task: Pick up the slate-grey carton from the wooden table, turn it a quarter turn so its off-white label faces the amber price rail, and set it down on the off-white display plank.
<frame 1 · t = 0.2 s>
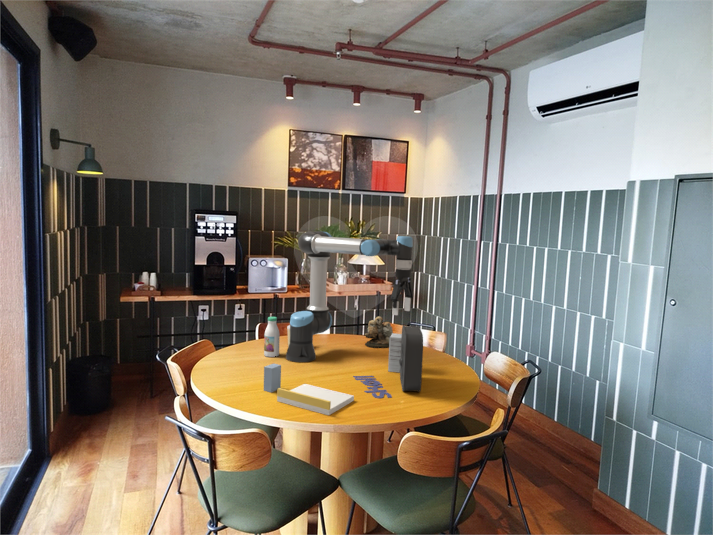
hand: (401, 312, 232), 28 cm above the table, fingers open, 13 cm apart
signage: (371, 387, 209), on the table
display plank: (315, 400, 190), on the table
coffee cup: (295, 347, 268), on the table
speaker: (407, 385, 213), on the table
supplement box: (398, 370, 235), on the table
milk bottle: (271, 355, 251), on the table
owl figurine: (378, 346, 279), on the table
carton: (272, 389, 201), on the table
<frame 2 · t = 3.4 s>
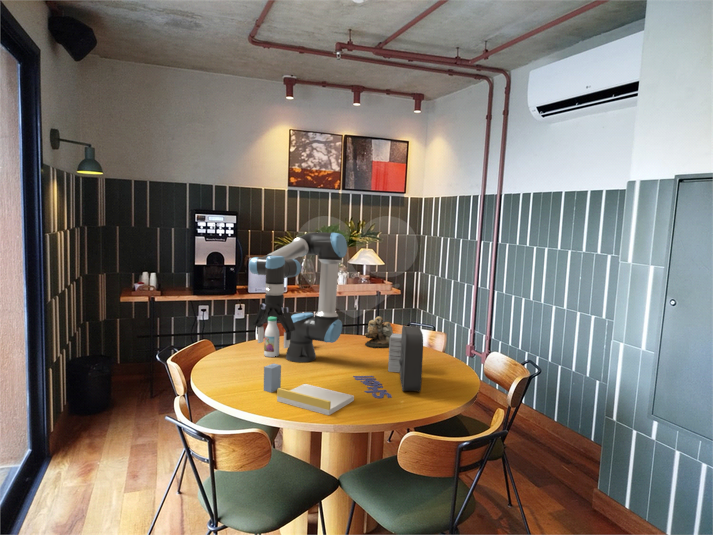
hand: (273, 345, 199), 19 cm above the table, fingers open, 13 cm apart
nothing on the table moved.
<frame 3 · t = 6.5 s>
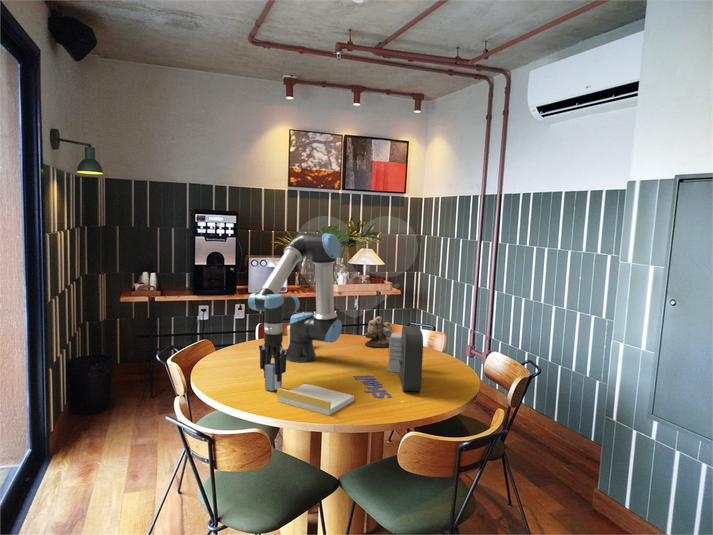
hand: (272, 387, 201), 1 cm above the table, fingers closed on carton, 4 cm apart
carton: (273, 387, 201), on the table, touching gripper
everything else where it was.
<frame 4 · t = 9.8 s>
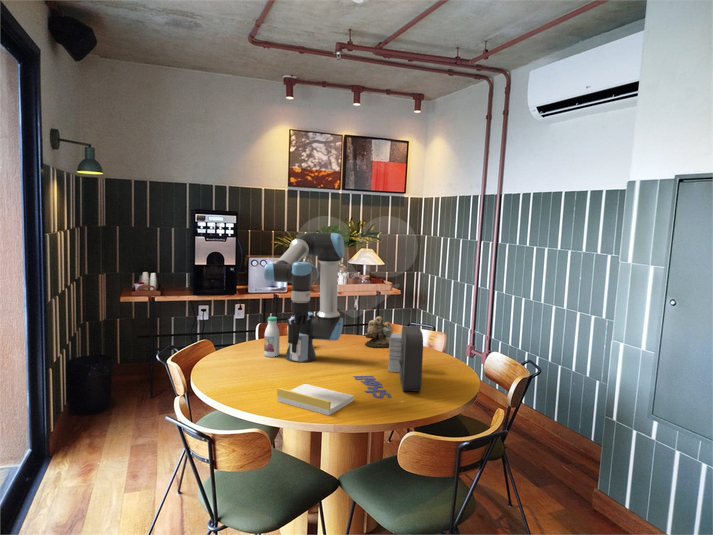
hand: (299, 358, 194), 15 cm above the table, fingers closed on carton, 4 cm apart
carton: (298, 359, 194), point 15 cm above the table, touching gripper
everything else where it was.
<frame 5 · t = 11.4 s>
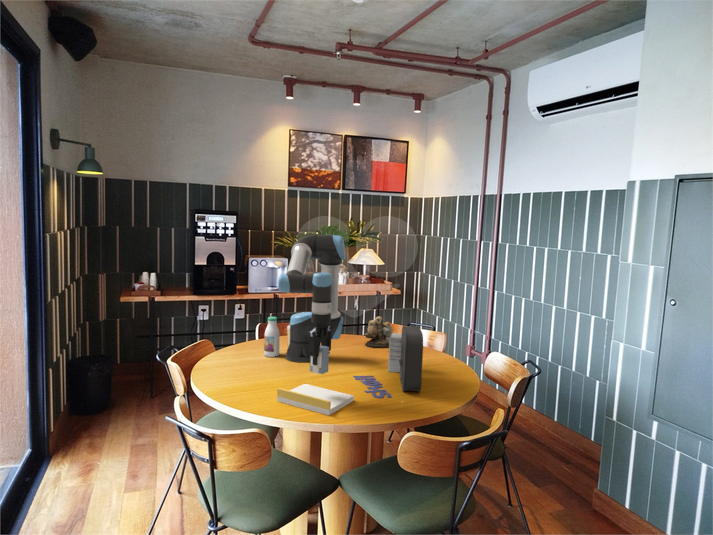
hand: (319, 371, 190), 11 cm above the table, fingers closed on carton, 4 cm apart
carton: (318, 371, 191), point 11 cm above the table, touching gripper
everything else where it was.
when the fingers open (3 cm above the table, at t = 13.0 s): carton stays where it is, resting on display plank.
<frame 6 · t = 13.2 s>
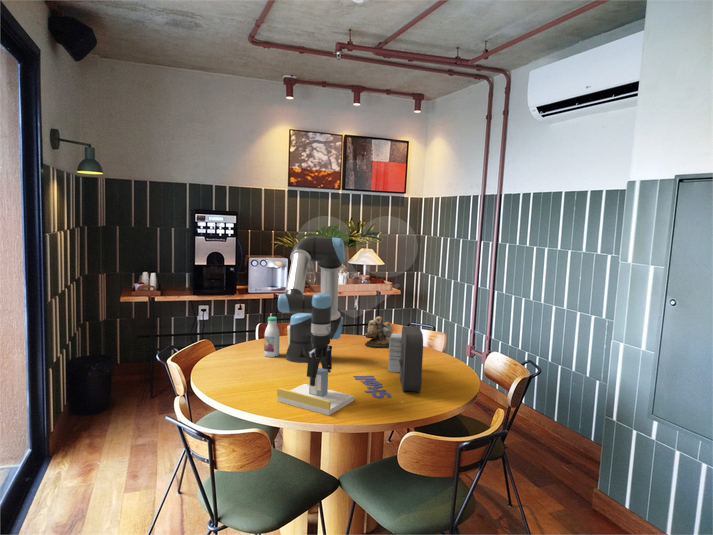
hand: (318, 390, 191), 3 cm above the table, fingers open, 7 cm apart
carton: (318, 394, 192), point 2 cm above the table, touching display plank
everything else where it was.
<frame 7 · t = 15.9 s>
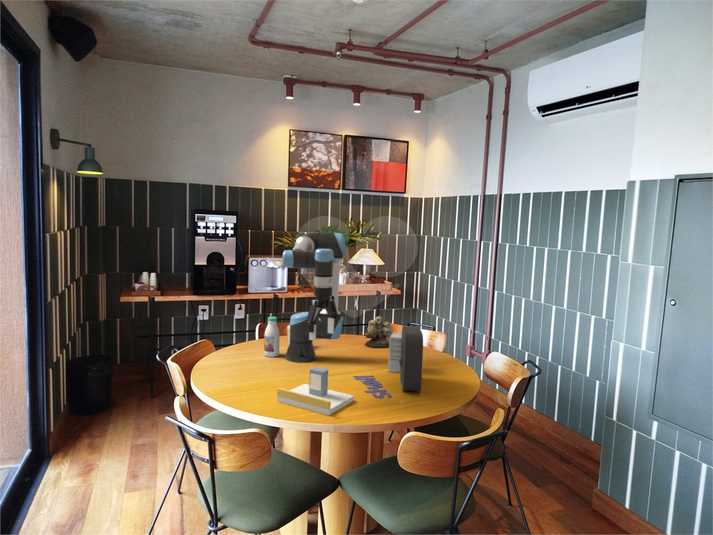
hand: (321, 336, 203), 22 cm above the table, fingers open, 13 cm apart
nothing on the table moved.
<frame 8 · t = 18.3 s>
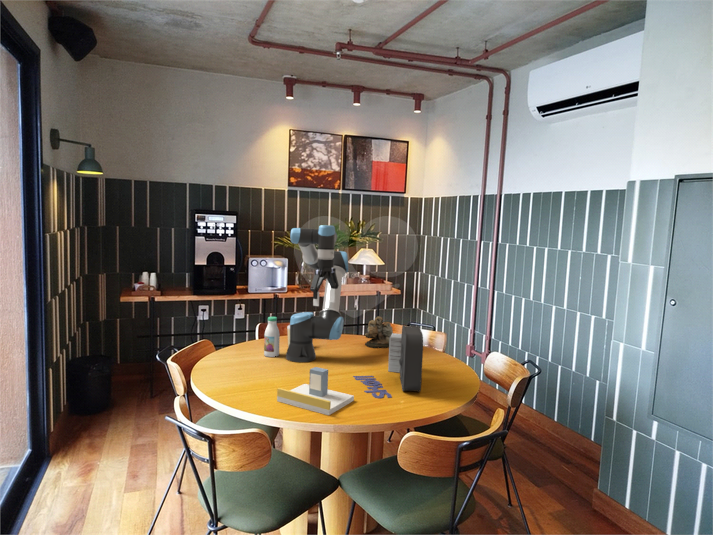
hand: (324, 304, 226), 32 cm above the table, fingers open, 13 cm apart
nothing on the table moved.
at the end: carton inside the target area on the display plank (0.8 cm from its centre), point 2.0 cm above the display plank's base; carton tilted 0°; the gripper is holding nothing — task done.
